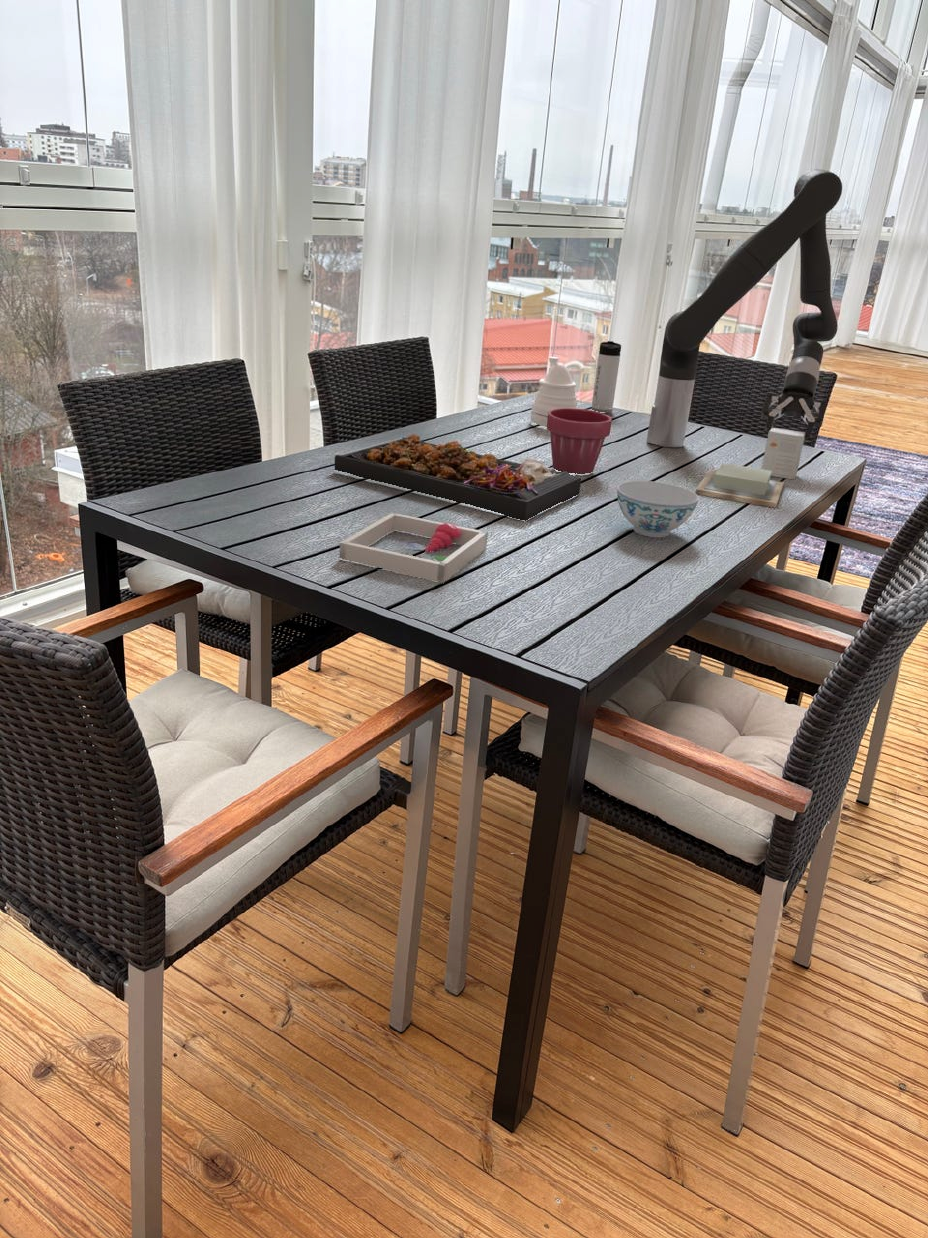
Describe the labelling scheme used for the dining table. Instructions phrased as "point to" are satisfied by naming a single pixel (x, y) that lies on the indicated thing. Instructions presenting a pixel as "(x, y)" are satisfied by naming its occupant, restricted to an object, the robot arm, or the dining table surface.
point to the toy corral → (410, 565)
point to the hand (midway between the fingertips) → (787, 435)
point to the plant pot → (577, 438)
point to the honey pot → (554, 393)
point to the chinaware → (655, 506)
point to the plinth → (742, 479)
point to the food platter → (462, 475)
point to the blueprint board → (764, 500)
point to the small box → (783, 452)
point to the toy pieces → (440, 539)
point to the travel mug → (606, 376)
